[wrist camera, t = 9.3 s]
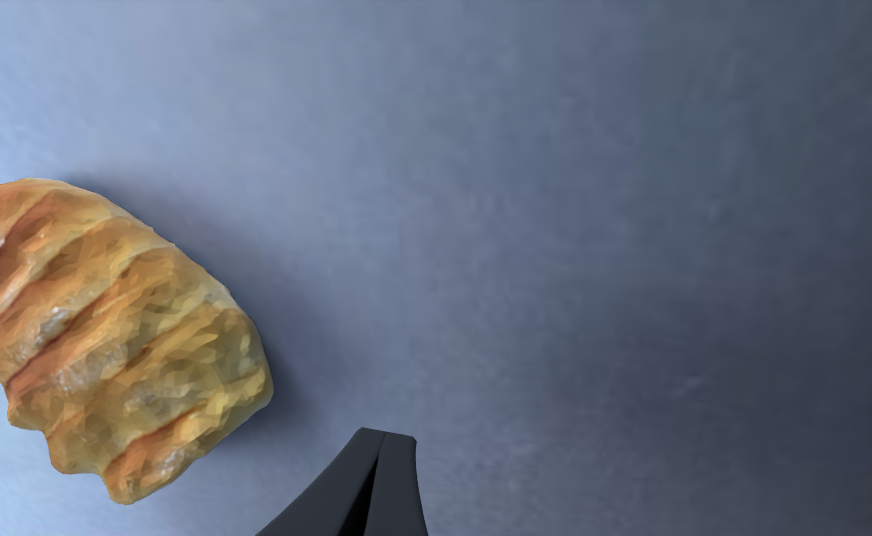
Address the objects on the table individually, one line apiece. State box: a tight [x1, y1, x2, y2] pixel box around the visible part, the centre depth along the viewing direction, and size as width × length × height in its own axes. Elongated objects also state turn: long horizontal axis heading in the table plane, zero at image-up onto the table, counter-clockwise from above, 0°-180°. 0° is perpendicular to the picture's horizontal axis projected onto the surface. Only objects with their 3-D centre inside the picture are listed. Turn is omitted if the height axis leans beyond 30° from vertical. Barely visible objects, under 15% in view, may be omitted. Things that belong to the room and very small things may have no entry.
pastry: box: [0, 178, 274, 505], centre depth 13 cm, size 9×7×4 cm
